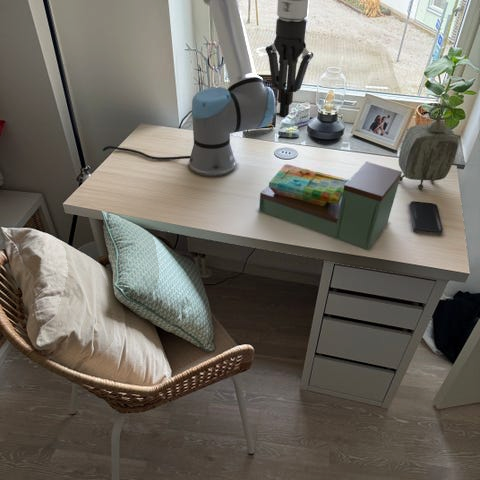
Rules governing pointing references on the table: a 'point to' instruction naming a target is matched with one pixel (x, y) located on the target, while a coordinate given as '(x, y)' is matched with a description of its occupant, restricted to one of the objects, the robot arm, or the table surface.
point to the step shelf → (343, 207)
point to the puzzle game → (308, 185)
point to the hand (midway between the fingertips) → (283, 115)
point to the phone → (425, 218)
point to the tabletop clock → (428, 150)
